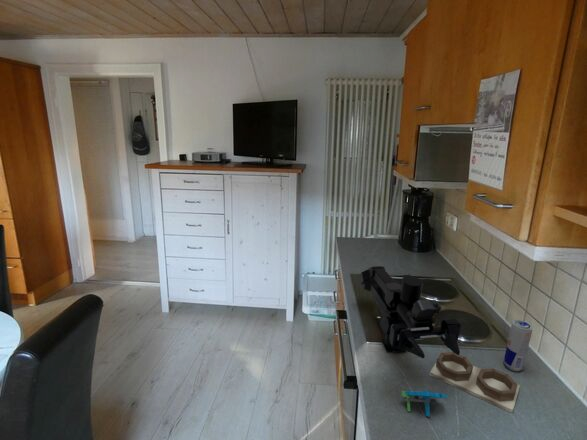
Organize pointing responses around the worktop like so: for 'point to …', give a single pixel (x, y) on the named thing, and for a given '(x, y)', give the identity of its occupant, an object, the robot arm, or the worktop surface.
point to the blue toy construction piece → (426, 398)
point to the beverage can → (517, 345)
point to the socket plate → (476, 380)
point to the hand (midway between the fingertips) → (441, 355)
